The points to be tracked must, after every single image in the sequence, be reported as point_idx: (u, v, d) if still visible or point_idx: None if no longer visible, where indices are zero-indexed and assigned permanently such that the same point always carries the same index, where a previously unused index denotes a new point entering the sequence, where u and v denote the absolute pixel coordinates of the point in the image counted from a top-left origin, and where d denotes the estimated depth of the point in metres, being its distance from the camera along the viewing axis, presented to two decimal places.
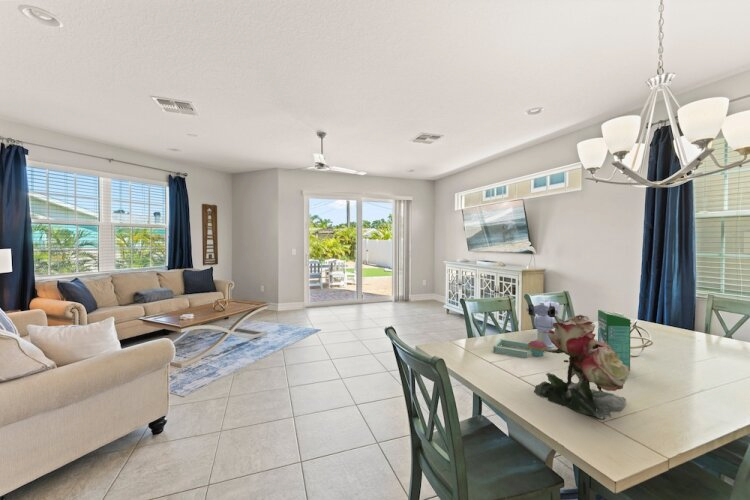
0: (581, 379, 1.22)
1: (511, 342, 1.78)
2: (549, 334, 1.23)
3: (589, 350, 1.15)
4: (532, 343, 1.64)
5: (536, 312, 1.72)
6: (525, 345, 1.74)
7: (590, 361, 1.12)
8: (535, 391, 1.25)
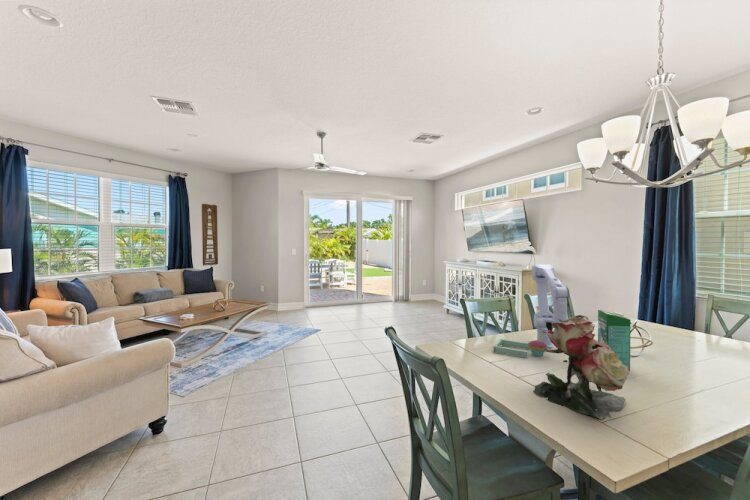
0: (581, 379, 1.22)
1: (511, 342, 1.78)
2: (549, 334, 1.23)
3: (589, 350, 1.15)
4: (532, 343, 1.64)
5: None
6: (525, 345, 1.74)
7: (589, 361, 1.12)
8: (535, 391, 1.25)
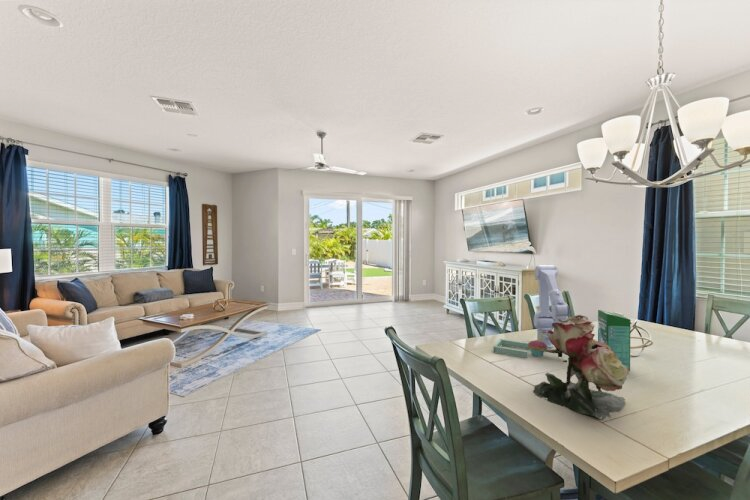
0: (580, 379, 1.21)
1: (511, 342, 1.78)
2: (548, 334, 1.23)
3: (588, 350, 1.15)
4: (532, 343, 1.64)
5: None
6: (525, 345, 1.74)
7: (589, 361, 1.12)
8: (534, 391, 1.25)
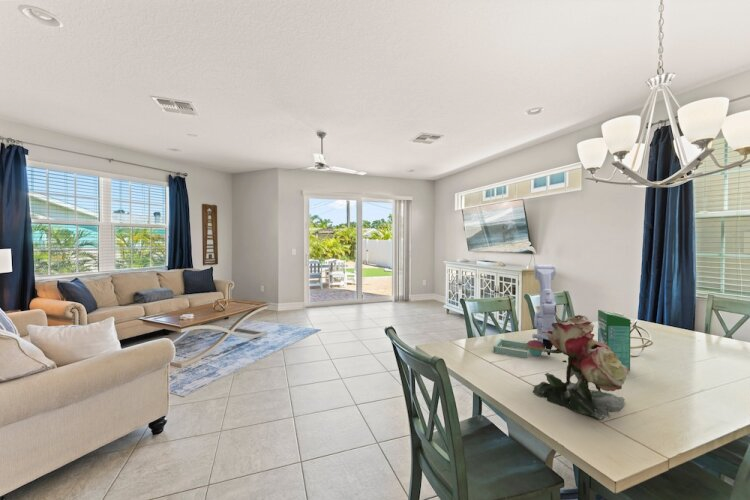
0: (580, 379, 1.21)
1: (511, 342, 1.78)
2: (548, 334, 1.23)
3: (588, 350, 1.15)
4: (530, 343, 1.65)
5: None
6: (525, 345, 1.74)
7: (588, 361, 1.12)
8: (534, 391, 1.25)
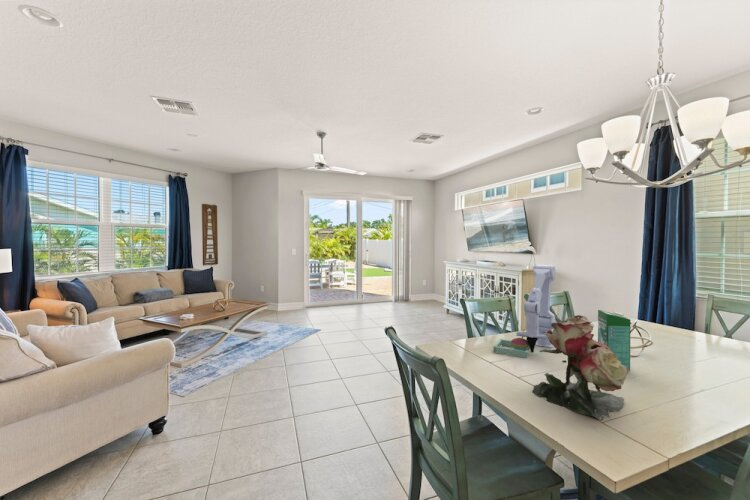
0: (579, 379, 1.21)
1: None
2: (547, 334, 1.23)
3: (587, 350, 1.15)
4: (514, 340, 1.69)
5: None
6: None
7: (588, 361, 1.12)
8: (533, 391, 1.25)
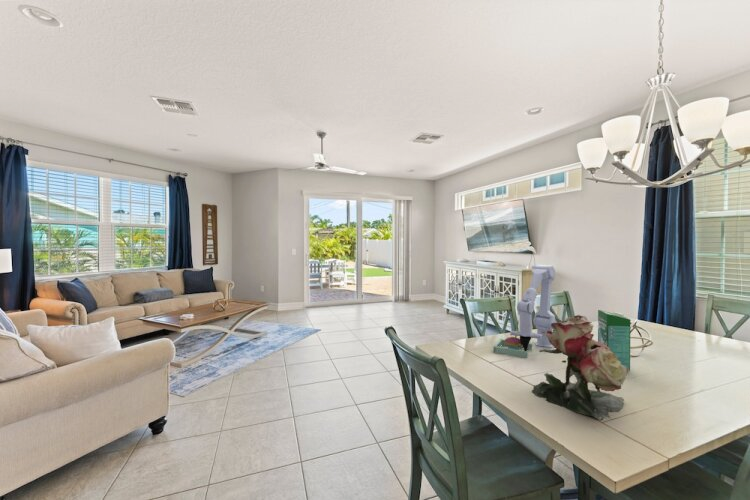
0: (579, 379, 1.21)
1: None
2: (547, 334, 1.23)
3: (587, 350, 1.15)
4: (508, 339, 1.71)
5: None
6: None
7: (588, 361, 1.12)
8: (533, 391, 1.25)
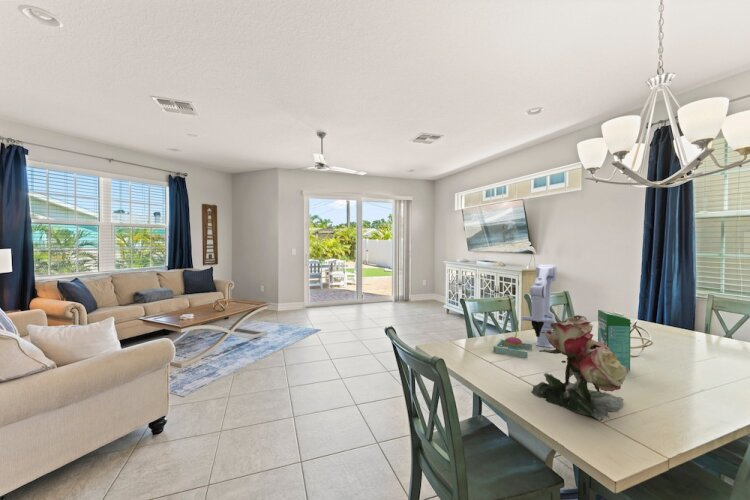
0: (579, 379, 1.21)
1: None
2: (547, 334, 1.23)
3: (587, 350, 1.15)
4: (508, 339, 1.71)
5: None
6: (525, 345, 1.74)
7: (587, 361, 1.12)
8: (533, 392, 1.25)
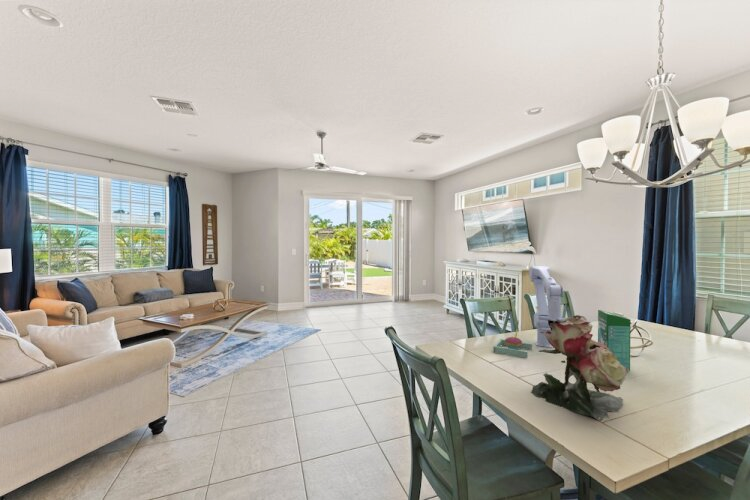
0: (578, 379, 1.21)
1: None
2: (546, 334, 1.23)
3: (586, 350, 1.15)
4: (508, 339, 1.71)
5: None
6: (525, 345, 1.74)
7: (587, 361, 1.12)
8: (532, 392, 1.25)
